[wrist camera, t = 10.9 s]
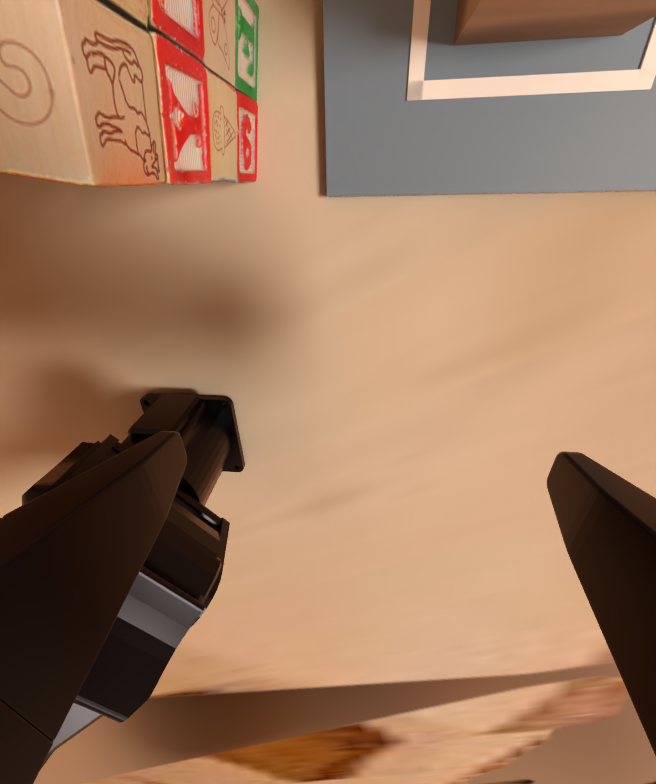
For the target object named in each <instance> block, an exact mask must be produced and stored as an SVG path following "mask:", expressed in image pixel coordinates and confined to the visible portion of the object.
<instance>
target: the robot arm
mask: <svg viewBox="0 0 656 784" xmlns="http://www.w3.org/2000/svg"><path fill="white" fill-rule="evenodd" d="M147 400H148V401H150V403H149V402H148V401H147ZM140 403H141V406H142V409H143V412H144V414H143V415H142V416H141V417H140V418H139V419H138V420H137V421H136V422H135V423H134V424H133V425H132V426H131V428H130V429H129V430H128V433H129V436H128V437H127V438H126V439H125V440H124V441H123V442H122V443H121V444H120V443H119V442H118V441H119V440H118V439H117V438H115V437H114V436H113V435H111V434H110V435H109V436H108V437H107V438H106V439H105V440H104V441H103V442H102V443H100V442H99V441H97V442H96V443H95V444H94V443H86V442H82V443H81V444H80V445H79V446H78V447H76V448H75V449H74V450H73V451H72V452H71V453H70V454H69V455H68V456H67V457H65V458H64V459H63V460H62V461H61V462H60V463H59V464H58V465H56V466H55V467H54V468H53V469H52V470H51V471H49V472H48V473H47V474H46V475H45V476H44V477H42V478H41V479H40V480H39V481H38V482H36V483H35V484H34V485H33V486H32V487H31V488H30V489H29V490H28V491H26V492H25V493H24V494H23V495H22V506H21V507H19V508H17V509H15V510H13V511H11V512H9V513H8V514H6V515H4V516H3V518H0V784H33V783H34V781H35V779H36V777H37V775H38V773H39V771H40V770H41V768H42V767H43V765H44V764H45V763H46V761H47V760H48V759H49V757H50V756H51V755H52V753H53V752H54V751H55V750H56V749H57V748H59V747H60V746H61V745H63V744H64V743H65V742H67V741H68V740H70V739H71V738H73V737H74V736H75V735H77V734H78V733H80V732H81V731H82V730H84V729H85V728H87V727H88V726H89V725H90V724H92V723H94V722H95V721H96V720H98V719H99V718H101V717H102V716H105V717H108V718H110V719H112V720H114V721H117V722H123V721H125V720H126V719H128V718H129V717H130V716H131V715H132V714H133V713H134V712H135V711H136V710H137V709H138V708H139V707H140V706H141V705H142V704H143V703H144V702H146V701H147V700H148V698H149V697H150V696H151V694H152V692H153V690H154V688H155V686H156V685H157V683H158V681H159V679H160V677H161V675H162V673H163V671H164V669H165V667H166V666H167V664H168V662H169V660H170V658H171V657H172V655H173V653H174V651H175V649H176V648H177V646H178V645H179V643H180V642H181V640H182V639H183V637H184V636H185V634H186V633H187V631H188V630H189V628H190V627H191V626H193V625H194V623H195V622H196V621H197V620H198V619H199V618H200V617H201V615H202V614H203V613H204V611H205V610H206V609H207V607H208V605H209V604H210V602H211V600H212V599H213V597H214V595H215V593H216V591H217V588H218V585H219V583H220V580H221V575H222V570H223V564H224V557H225V551H226V544H227V538H228V531H229V525H230V523H229V522H228V521H227V520H225V519H224V518H220V517H219V516H217V515H216V514H214V513H213V512H212V511H210V510H209V509H208V508H206V507H205V504H206V502H207V500H208V498H209V496H210V494H211V492H212V490H213V488H214V486H215V484H216V482H217V480H218V478H219V476H220V474H221V472H222V471H229V472H241V471H242V470H243V469H244V466H245V462H244V457H243V452H242V446H241V441H240V436H239V431H238V426H237V420H236V415H235V410H234V405H233V402H232V400H231V399H229V398H228V397H213V396H199V395H190V394H146V395H144V396H143V397H142V398H141V400H140ZM223 403H225V404H226V405H227V406H224V405H223ZM237 465H239V466H237ZM547 488H548V492H549V495H550V498H551V501H552V505H553V508H554V511H555V514H556V517H557V521H558V524H559V527H560V530H561V534H562V537H563V540H564V543H565V546H566V549H567V552H568V554H569V557H570V559H571V562H572V564H573V566H574V569H575V571H576V573H577V576H578V578H579V580H580V582H581V585H582V587H583V589H584V592H585V594H586V596H587V599H588V601H589V603H590V606H591V608H592V610H593V612H594V615H595V617H596V619H597V622H598V624H599V626H600V629H601V631H602V633H603V636H604V638H605V640H606V642H607V645H608V647H609V649H610V652H611V654H612V656H613V659H614V661H615V663H616V666H617V668H618V670H619V672H620V675H621V677H622V679H623V682H624V684H625V686H626V689H627V691H628V693H629V696H630V698H631V700H632V702H633V705H634V707H635V709H636V712H637V714H638V716H639V719H640V721H641V723H642V725H643V728H644V730H645V732H646V735H647V737H648V739H649V742H650V744H651V746H652V748H653V751H654V753H655V755H656V498H654V497H653V496H651V495H649V494H648V493H646V492H644V491H643V490H641V489H640V488H638V487H636V486H635V485H633V484H631V483H630V482H628V481H626V480H625V479H623V478H621V477H620V476H618V475H617V474H615V473H613V472H612V471H610V470H608V469H607V468H605V467H603V466H602V465H600V464H599V463H597V462H595V461H594V460H592V459H590V458H589V457H587V456H585V455H584V454H582V453H579V452H560V453H559V454H558V455H557V456H556V458H555V461H554V463H553V466H552V468H551V470H550V473H549V475H548V478H547Z"/></svg>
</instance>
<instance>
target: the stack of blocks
mask: <svg viewBox="0 0 656 784" xmlns="http://www.w3.org/2000/svg"><path fill="white" fill-rule="evenodd" d="M258 16H259V9H258V5H257V4H256V2H255V0H0V173H6V174H12V175H18V176H24V177H31V178H37V179H43V180H49V181H55V182H62V183H69V184H75V185H83V186H96V187H105V186H127V185H154V184H160V183H163V184H172V185H173V184H198V183H210V182H215V181H227V182H233V183H236V182H255V181H256V177H257V114H258V106H257V59H258Z"/></svg>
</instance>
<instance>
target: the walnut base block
mask: <svg viewBox="0 0 656 784" xmlns="http://www.w3.org/2000/svg"><path fill="white" fill-rule="evenodd" d="M655 16H656V0H458V8H457V16H456V24H455V33H454V41H453V46H456V45H473V44H489V43H505V42H521V41H538V40H554V39H570V38H586V37H603V36H619V35H623V34H625V33H626V32H628V31H630V30H632V29H633V28H635V27H637V26H639V25H640V24H642V23H644V22H646V21H647V20H649V19H651V18H653V17H655Z"/></svg>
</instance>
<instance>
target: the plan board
mask: <svg viewBox="0 0 656 784" xmlns="http://www.w3.org/2000/svg"><path fill="white" fill-rule="evenodd" d="M457 8H458V0H323V33H324V82H325V131H326V180H327V197H335V196H386V195H436V194H487V193H538V192H588V191H639V190H656V16H655V17H653V18H651V19H649V20H647V21H646V22H644V23H642V24H640V25H639V26H637V27H635V28H633V29H632V30H630V31H628V32H626V33H625V34H623V35H619V36H603V37H586V38H570V39H554V40H538V41H521V42H505V43H489V44H473V45H456V46H453V41H454V33H455V24H456V16H457Z"/></svg>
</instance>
